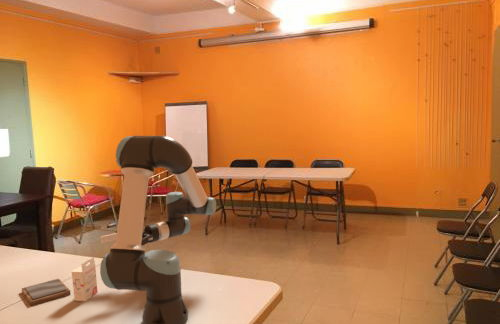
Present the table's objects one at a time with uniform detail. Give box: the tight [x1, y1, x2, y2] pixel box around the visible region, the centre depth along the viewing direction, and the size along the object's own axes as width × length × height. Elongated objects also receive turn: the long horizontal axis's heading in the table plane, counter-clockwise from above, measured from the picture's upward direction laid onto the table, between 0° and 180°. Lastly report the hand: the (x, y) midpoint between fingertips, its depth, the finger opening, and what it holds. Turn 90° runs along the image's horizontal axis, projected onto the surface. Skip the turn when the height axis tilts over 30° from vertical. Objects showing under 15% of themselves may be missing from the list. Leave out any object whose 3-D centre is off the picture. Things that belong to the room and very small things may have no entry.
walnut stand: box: [21, 278, 71, 307], centre depth 165 cm, size 16×14×2 cm
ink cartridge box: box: [71, 256, 98, 302], centre depth 161 cm, size 9×5×15 cm, turn 168°
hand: (107, 243), depth 166 cm, fingers open, 13 cm apart
